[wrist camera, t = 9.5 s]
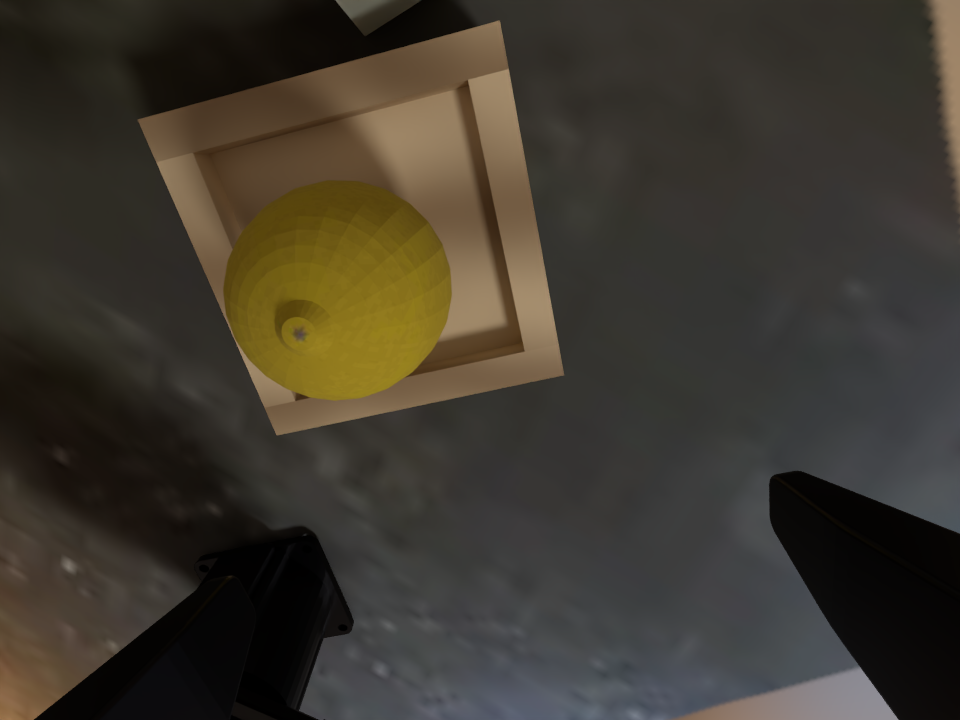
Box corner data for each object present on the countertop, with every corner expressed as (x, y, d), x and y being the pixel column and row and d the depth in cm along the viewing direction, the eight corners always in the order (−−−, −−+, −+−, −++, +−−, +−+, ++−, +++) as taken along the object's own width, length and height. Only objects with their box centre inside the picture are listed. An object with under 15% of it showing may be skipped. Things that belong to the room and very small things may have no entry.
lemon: (425, 359, 18) (387, 490, 10) (280, 304, 17) (129, 403, 10) (482, 219, 16) (486, 257, 9) (323, 149, 15) (177, 126, 8)
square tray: (550, 343, 20) (564, 375, 17) (308, 395, 21) (276, 435, 18) (495, 51, 16) (499, 20, 13) (201, 130, 17) (137, 119, 14)
